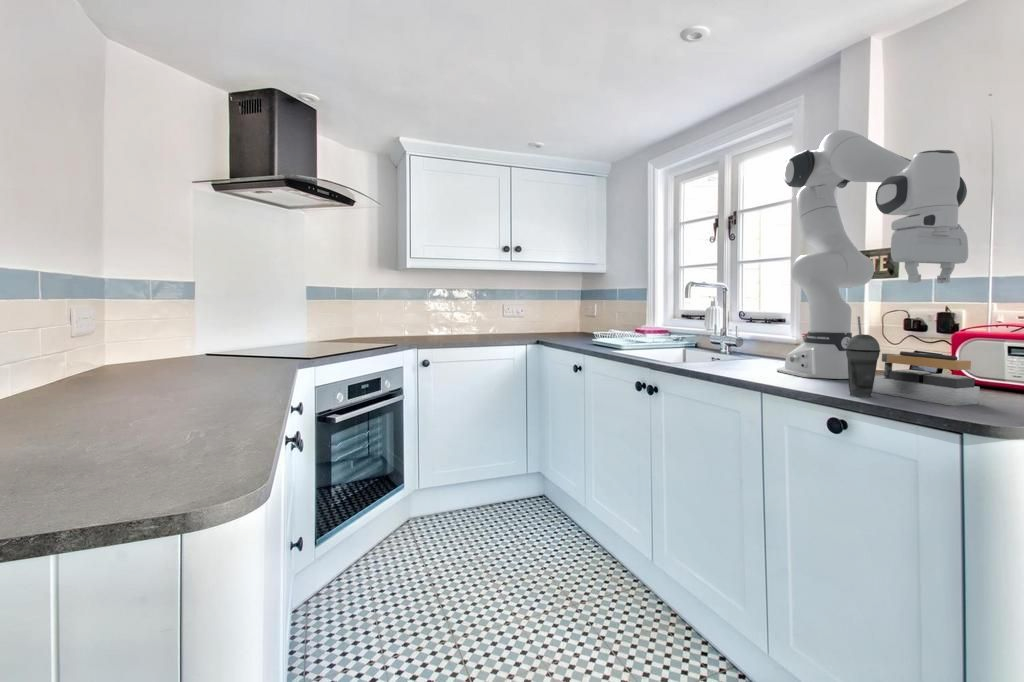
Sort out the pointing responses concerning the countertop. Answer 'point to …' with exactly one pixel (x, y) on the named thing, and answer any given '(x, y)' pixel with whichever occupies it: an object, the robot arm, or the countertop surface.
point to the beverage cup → (862, 363)
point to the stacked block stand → (927, 386)
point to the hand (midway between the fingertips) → (929, 282)
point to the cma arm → (927, 360)
